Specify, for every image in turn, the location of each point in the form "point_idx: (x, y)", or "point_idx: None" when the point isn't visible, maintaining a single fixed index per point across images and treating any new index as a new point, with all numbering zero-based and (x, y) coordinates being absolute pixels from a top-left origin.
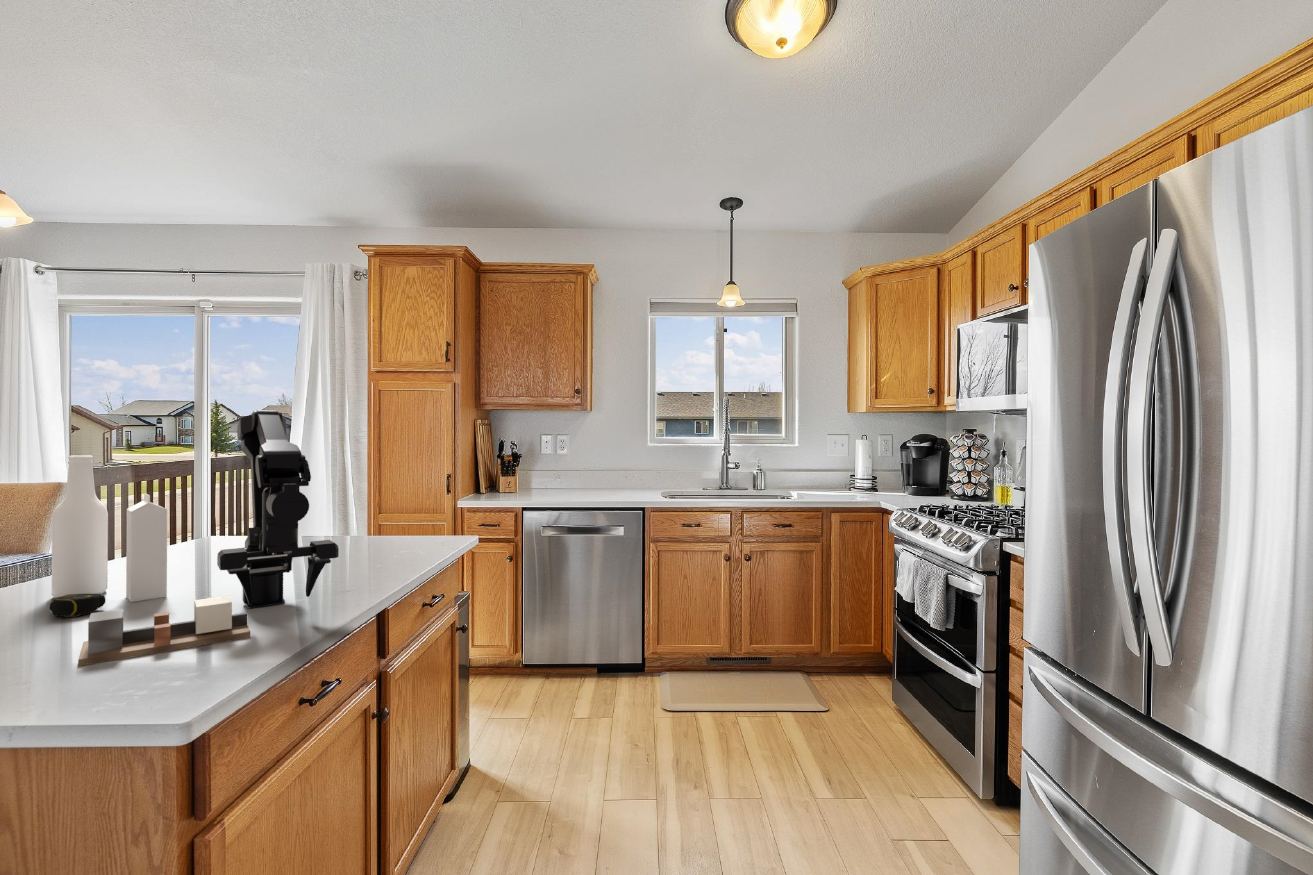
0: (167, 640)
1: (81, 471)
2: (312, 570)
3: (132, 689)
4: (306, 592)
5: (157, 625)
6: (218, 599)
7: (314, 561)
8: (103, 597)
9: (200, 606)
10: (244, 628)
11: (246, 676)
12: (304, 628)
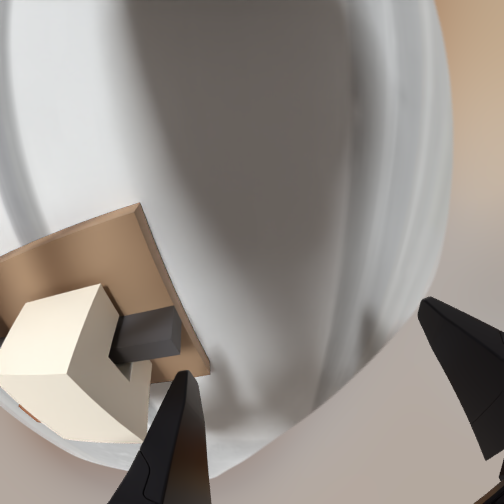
0: None
1: None
2: (474, 429)
3: (124, 452)
4: (428, 319)
5: (24, 409)
6: (67, 406)
7: (497, 453)
8: None
9: (71, 439)
10: (184, 350)
11: (240, 456)
12: (344, 327)
